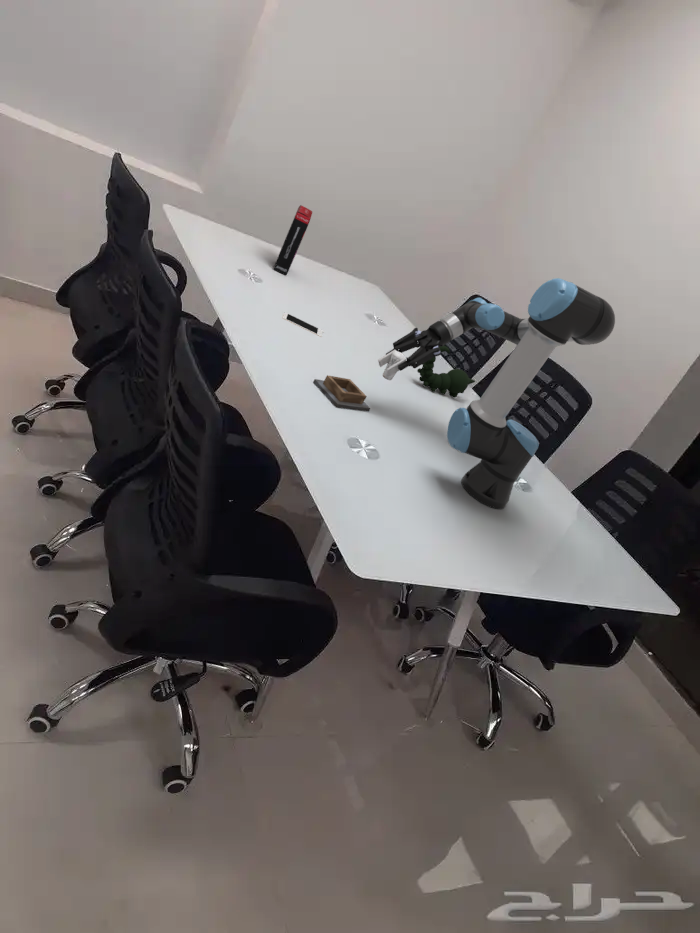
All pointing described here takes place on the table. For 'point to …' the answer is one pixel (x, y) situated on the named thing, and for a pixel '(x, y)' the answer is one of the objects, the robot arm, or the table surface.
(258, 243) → the table surface
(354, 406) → the socket board
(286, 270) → the graphics card box
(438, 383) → the toy figurine
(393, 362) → the milkshake
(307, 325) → the cell phone
